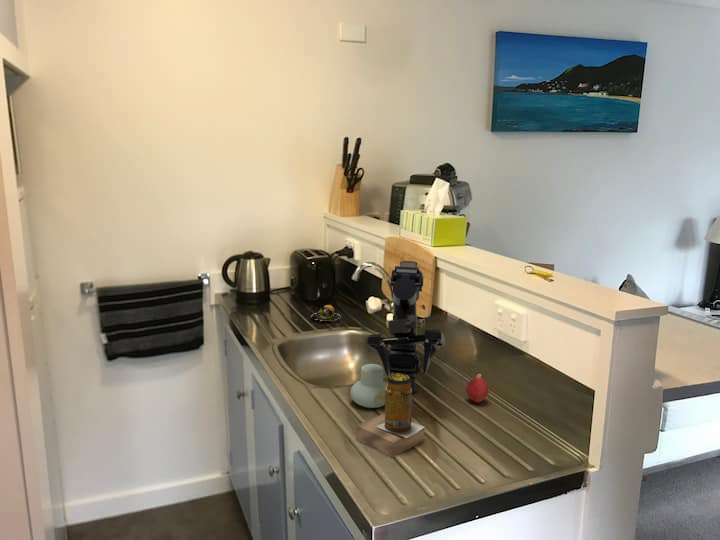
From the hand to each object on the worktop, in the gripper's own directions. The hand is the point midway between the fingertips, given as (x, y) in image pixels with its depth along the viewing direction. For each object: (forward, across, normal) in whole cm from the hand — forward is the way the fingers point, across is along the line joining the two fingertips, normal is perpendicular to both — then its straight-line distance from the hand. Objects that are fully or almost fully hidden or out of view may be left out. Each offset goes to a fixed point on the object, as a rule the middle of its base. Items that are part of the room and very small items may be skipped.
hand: (406, 374), depth 141 cm
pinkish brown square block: (+16, -4, -2) cm, 16 cm away
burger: (-37, -47, +66) cm, 89 cm away
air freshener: (+5, -13, +12) cm, 18 cm away
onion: (+4, +14, +23) cm, 27 cm away
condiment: (+13, -1, -4) cm, 14 cm away
